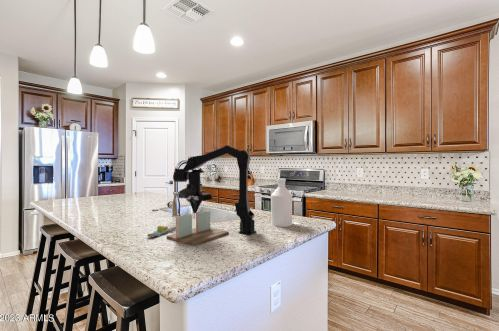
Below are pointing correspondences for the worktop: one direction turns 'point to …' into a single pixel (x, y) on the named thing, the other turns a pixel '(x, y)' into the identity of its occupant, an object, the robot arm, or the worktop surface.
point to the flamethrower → (161, 231)
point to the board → (199, 236)
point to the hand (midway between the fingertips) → (194, 213)
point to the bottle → (281, 206)
